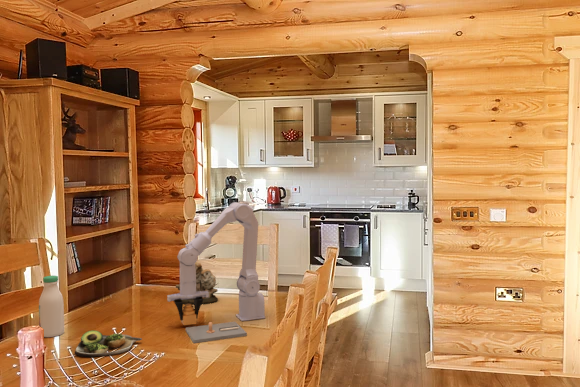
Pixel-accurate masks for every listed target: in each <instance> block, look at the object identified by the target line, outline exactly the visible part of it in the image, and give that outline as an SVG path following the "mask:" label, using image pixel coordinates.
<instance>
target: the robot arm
mask: <svg viewBox="0 0 580 387" xmlns="http://www.w3.org/2000/svg"><path fill="white" fill-rule="evenodd" d="M234 222H238V223H240V225H241V226H242V227H243V243H242V244H243V245H242V247H243V248H242V258H241V259H242V260H241V261H242V262H241V269H240V271H239V275H238V278H237V279H236V287H237V289H238V290H239V292H238V313H237V314H235V317H236V318H237V319H239V320H240V321H241V322H244V321H245V322H246V321H252V320H254V321H255V320H261V319H265V318H266V316H265V315H266V314H265V312H266V311H265V310H266V309H265V297H264V294H263V293H262V292H259V291H260V289H261V285H260V282H259V274H258V273H257V255H258V234H259V222H258V220H257V218H256V215H255V213H254V209H253V208H252V207H251V206H250V205H248V204H247V203H244V202H243V203H241V202H237V201H235V202H231V203H230V204H229V205H228V207H226V208H224V209H223V211H222V212H221V213H220V214H219V215H218V216H217V217H216V219H215V220H214V221H213V222H212V223H211V224H210V225H209V227H208V228H207V229H206V230H205V231H200V232H199V233H195V234H194V238H192V239H191V241H189V243H186V244H184V246H185V247H184V248H181V249H180V250H179V251H178V254H177V255H176V256H177V260H178V261H179V284H180V290H179V292H178V293H172V294H168V295H166V296H167V302H174V304H175V307H176V309H177V312H178V315H179V320H180V321H181V320H183V312H182V310H183V307H184V304H183V303H182V300H184V299H193V298H194V305H193V306H194V309H195V314H196V320H197V319H198V317H199V313H200V312H199V311H200V308H201V307H202V305H201V304H202V302H203V299H202V297H209V292H208V291H196V268H195V263H196V262H198V257H199V256H200V255H202V254H203V252H204V251H205V250H206V249H207V248H208V247H209V246H210V245H211V244H212V239H213V237H214V236H215V235H216V234H217V233H218V232H219V231H221V229H223V228H224V227H225V226H226V225H227V224H230V223H234Z"/></svg>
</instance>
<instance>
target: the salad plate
mask: <svg viewBox="0 0 580 387" xmlns="http://www.w3.org/2000/svg"><path fill="white" fill-rule="evenodd" d="M142 340H143V339H142V338H141V337H133V336H131V335H128V334H122V333H113V334H109V335H107V334H106V335H105V334H103V333H102V332H100V331H99V330H93V329H92V330H88V331H86V332H85V333H83V334H82V336H81V337H80V341H79V343H78V344H77V347H76V348H75V351H74V354H76V355H77V357H78V356H79V357H82V358H97V357H106V356H111V355H112V356H113V355H118V354H119V355H120V354H122V353H125V352H127V351H129V350H130V349H131V348H132V347H133V344H134V343H136V342H139V341H140V342H141V341H142ZM117 349H118V350H117ZM110 350H114V351H110Z"/></svg>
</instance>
